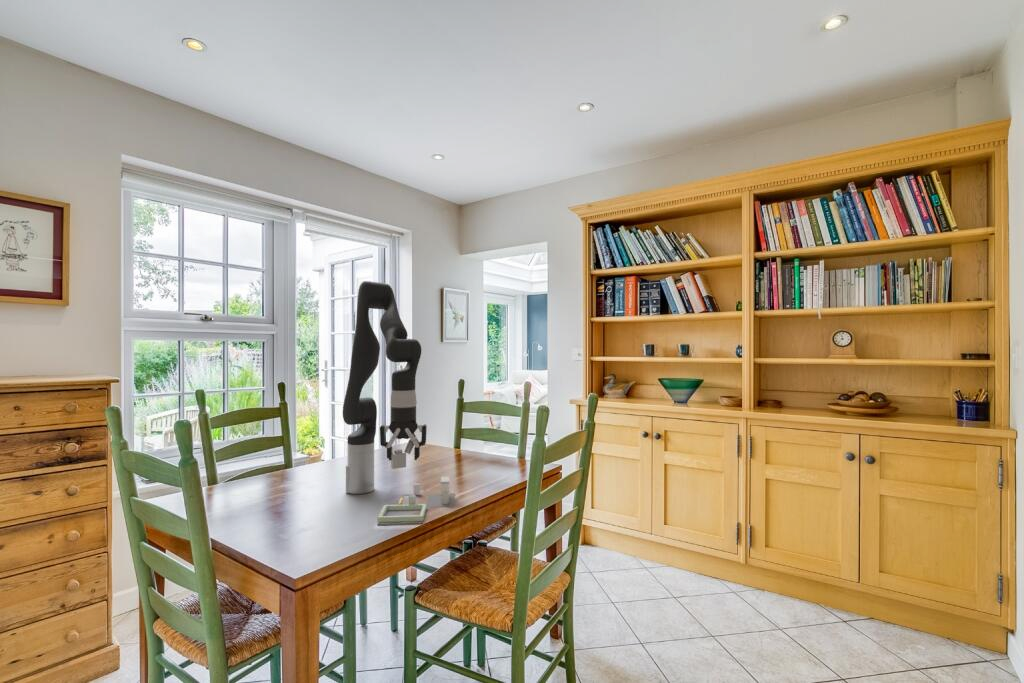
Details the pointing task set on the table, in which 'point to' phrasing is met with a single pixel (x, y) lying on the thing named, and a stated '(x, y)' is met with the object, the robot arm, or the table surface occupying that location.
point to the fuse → (445, 485)
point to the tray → (401, 518)
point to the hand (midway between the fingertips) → (403, 459)
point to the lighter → (401, 456)
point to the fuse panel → (431, 498)
